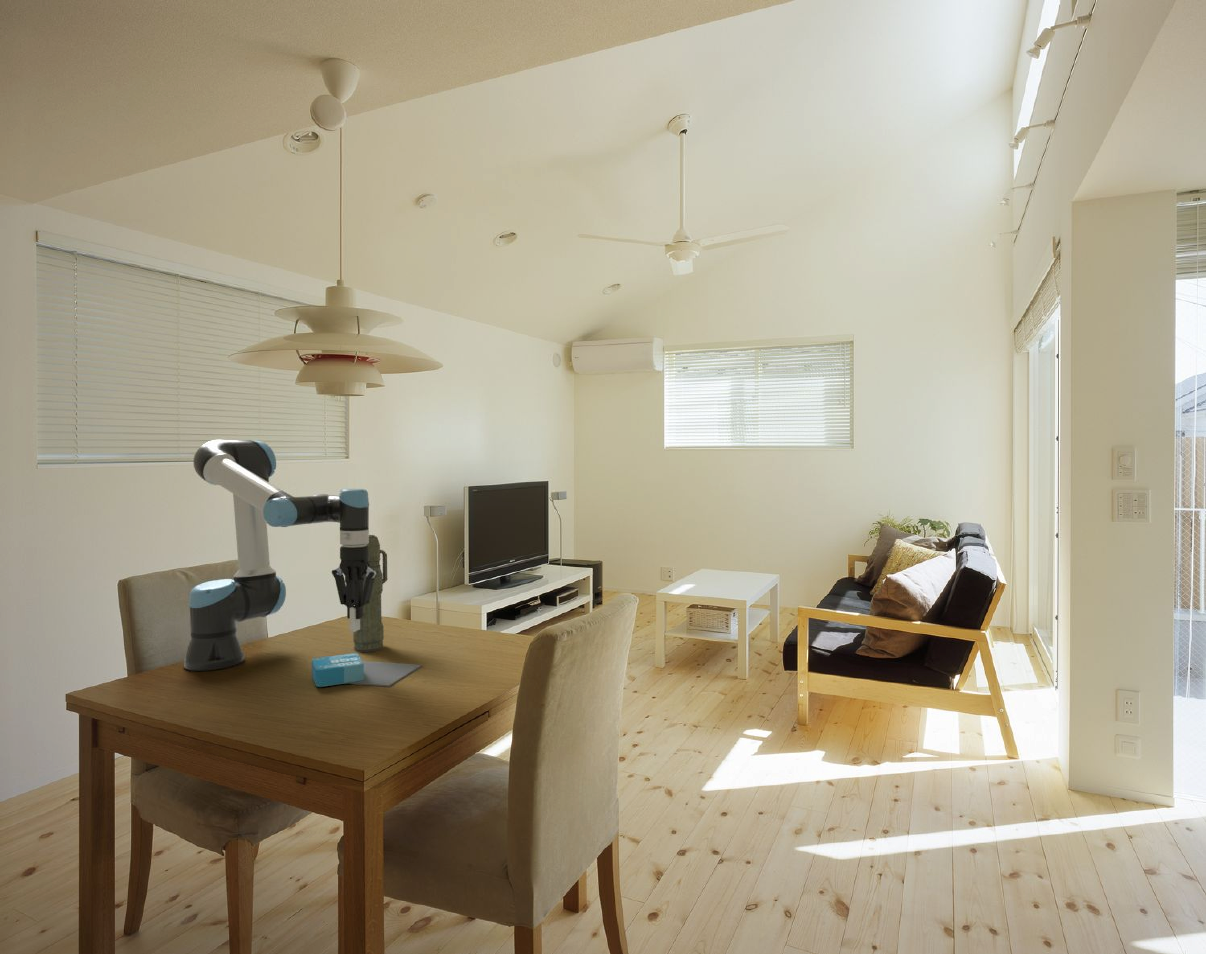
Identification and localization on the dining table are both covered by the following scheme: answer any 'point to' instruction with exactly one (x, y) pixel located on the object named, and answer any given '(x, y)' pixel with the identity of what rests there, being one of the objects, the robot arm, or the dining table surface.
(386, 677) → the mat
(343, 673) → the blue flat block
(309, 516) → the robot arm
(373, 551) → the thermos
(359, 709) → the dining table surface
